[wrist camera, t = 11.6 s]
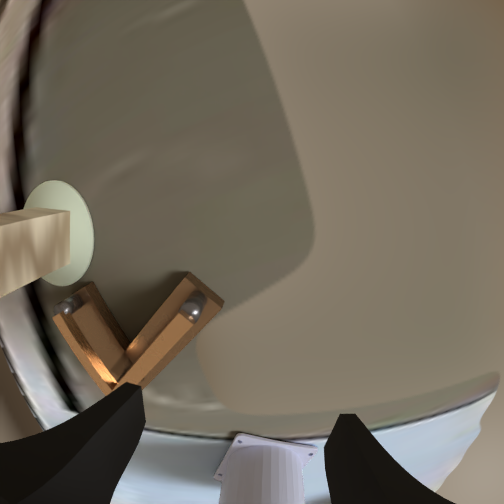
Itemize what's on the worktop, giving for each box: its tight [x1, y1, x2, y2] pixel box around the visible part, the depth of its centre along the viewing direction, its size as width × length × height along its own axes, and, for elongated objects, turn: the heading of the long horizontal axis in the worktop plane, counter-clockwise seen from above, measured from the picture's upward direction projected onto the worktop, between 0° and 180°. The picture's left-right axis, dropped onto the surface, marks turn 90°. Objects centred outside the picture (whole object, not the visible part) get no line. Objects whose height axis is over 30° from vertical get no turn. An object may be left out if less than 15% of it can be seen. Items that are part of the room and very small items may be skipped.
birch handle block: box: [0, 207, 70, 298], centre depth 14 cm, size 4×4×8 cm
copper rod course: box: [53, 272, 224, 396], centre depth 18 cm, size 12×12×4 cm
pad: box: [24, 180, 94, 286], centre depth 18 cm, size 8×8×1 cm
